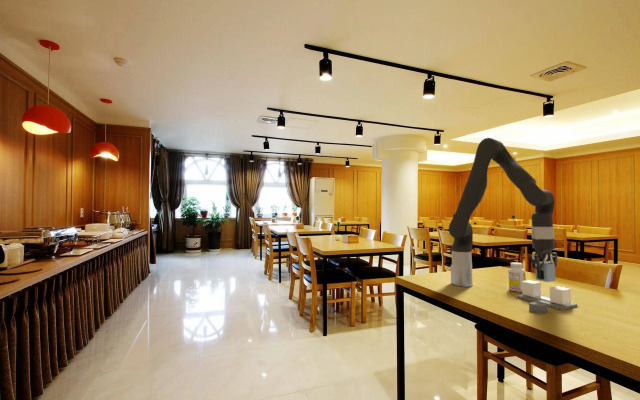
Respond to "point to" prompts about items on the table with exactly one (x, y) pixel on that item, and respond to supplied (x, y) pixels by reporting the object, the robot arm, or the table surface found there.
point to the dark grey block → (538, 307)
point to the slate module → (547, 272)
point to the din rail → (557, 299)
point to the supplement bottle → (516, 276)
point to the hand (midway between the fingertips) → (545, 278)
